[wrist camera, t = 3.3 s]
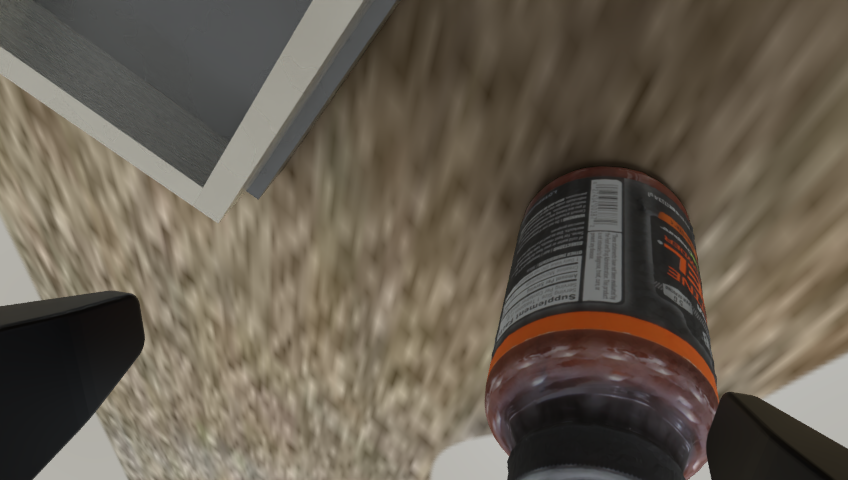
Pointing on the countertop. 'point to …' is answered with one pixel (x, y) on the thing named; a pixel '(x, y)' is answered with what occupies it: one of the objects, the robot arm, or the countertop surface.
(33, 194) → the countertop surface
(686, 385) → the supplement bottle
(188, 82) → the plate
